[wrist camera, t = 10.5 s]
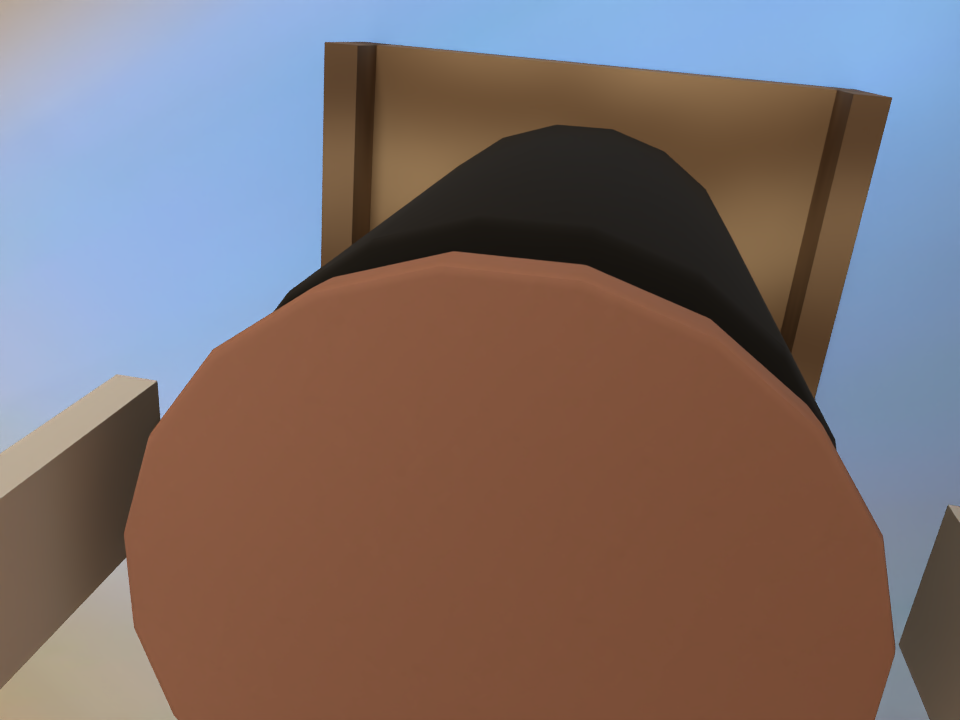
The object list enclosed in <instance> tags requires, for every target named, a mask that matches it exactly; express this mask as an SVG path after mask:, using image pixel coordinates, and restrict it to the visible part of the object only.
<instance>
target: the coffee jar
mask: <svg viewBox="0 0 960 720" xmlns="http://www.w3.org/2000/svg"><path fill="white" fill-rule="evenodd" d="M124 540H125V549H126V558H127V567H128V576H129V585H130V594H131V603H132V612H133V621H134V628H135V630H136V633H137V635H138V637H139V639H140V641H141V644H142V646H143V648H144V650H145V652H146V655H147V657H148V659H149V661H150V663H151V666H152V668H153V670H154V672H155V675H156V677H157V679H158V681H159V683H160V686H161V688H162V690H163V692H164V694H165V697H166V699H167V701H168V703H169V705H170V708H171V710H172V712H173V714H174V716H175V717H176V718H177V719H178V720H875V717H876V714H877V711H878V707H879V704H880V701H881V698H882V694H883V691H884V688H885V685H886V681H887V678H888V675H889V672H890V668H891V665H892V662H893V659H894V655H895V640H894V631H893V622H892V613H891V604H890V595H889V586H888V577H887V568H886V559H885V550H884V541H883V535H882V534H881V532H880V530H879V528H878V526H877V524H876V522H875V521H874V519H873V517H872V515H871V513H870V511H869V510H868V508H867V506H866V504H865V502H864V500H863V499H862V497H861V495H860V493H859V491H858V489H857V488H856V486H855V484H854V482H853V480H852V478H851V477H850V475H849V473H848V471H847V469H846V467H845V466H844V464H843V462H842V460H841V458H840V456H839V455H838V453H837V451H836V443H835V438H834V436H833V434H832V433H831V431H830V429H829V427H828V425H827V423H826V421H825V419H824V417H823V415H822V413H821V411H820V409H819V407H818V405H817V403H816V401H815V399H814V397H813V395H812V393H811V391H810V390H809V388H808V386H807V384H806V382H805V380H804V378H803V376H802V374H801V372H800V370H799V368H798V366H797V364H796V362H795V360H794V358H793V356H792V354H791V352H790V350H789V348H788V347H787V345H786V343H785V341H784V339H783V337H782V335H781V333H780V331H779V329H778V327H777V325H776V323H775V321H774V319H773V317H772V315H771V313H770V311H769V309H768V307H767V305H766V303H765V302H764V300H763V298H762V296H761V294H760V292H759V290H758V288H757V286H756V284H755V282H754V280H753V278H752V276H751V274H750V272H749V270H748V268H747V266H746V264H745V262H744V260H743V259H742V257H741V255H740V253H739V251H738V249H737V247H736V245H735V243H734V241H733V239H732V237H731V235H730V233H729V231H728V230H727V228H726V226H725V224H724V222H723V220H722V218H721V217H720V215H719V213H718V211H717V209H716V207H715V206H714V204H713V202H712V200H711V198H710V196H709V194H708V193H707V191H706V189H705V188H704V187H703V186H702V185H701V184H700V183H698V182H697V181H696V180H695V179H694V178H693V177H692V176H691V175H690V174H689V173H687V172H686V171H685V170H684V169H683V168H682V167H681V166H680V165H679V164H678V163H677V162H675V161H674V160H673V159H672V158H671V157H670V156H669V155H668V154H667V153H666V152H664V151H662V150H660V149H658V148H655V147H653V146H651V145H648V144H646V143H644V142H641V141H639V140H637V139H634V138H632V137H630V136H627V135H625V134H623V133H620V132H618V131H616V130H614V129H605V128H593V127H581V126H569V125H552V126H548V127H544V128H540V129H536V130H532V131H528V132H524V133H520V134H516V135H512V136H508V137H504V138H502V139H500V140H498V141H497V142H495V143H494V144H492V145H491V146H489V147H487V148H486V149H484V150H483V151H481V152H480V153H478V154H476V155H475V156H473V157H472V158H470V159H469V160H467V161H465V162H464V163H462V164H461V165H459V166H458V167H456V168H455V169H454V170H452V171H451V172H449V173H448V174H447V175H445V176H444V177H443V178H441V179H440V180H439V181H437V182H436V183H435V184H433V185H432V186H431V187H429V188H428V189H427V190H425V191H424V192H423V193H421V194H420V195H418V196H417V197H416V198H414V199H413V200H412V201H410V202H409V203H408V204H406V205H405V206H404V207H402V208H401V209H400V210H398V211H397V212H396V213H394V214H393V215H391V216H390V217H389V218H387V219H386V220H385V221H383V222H382V223H381V224H379V225H378V226H377V227H375V228H374V229H373V230H371V231H370V232H369V233H367V234H366V235H365V236H363V237H362V238H360V239H359V240H358V241H356V242H355V243H354V244H352V245H351V246H350V247H348V248H347V249H346V250H344V251H343V252H342V253H340V254H339V255H338V256H336V257H335V258H334V259H332V260H331V261H329V262H328V263H327V264H325V265H324V266H323V267H321V268H320V269H319V270H317V271H316V272H315V273H313V274H312V275H311V276H309V277H308V278H307V279H305V280H304V281H303V282H301V283H300V284H298V285H297V286H296V287H294V288H293V289H292V290H290V291H289V292H288V294H287V295H286V296H285V297H284V299H283V300H282V301H281V303H280V304H279V305H278V307H277V308H276V309H275V311H274V312H273V313H271V314H269V315H268V316H266V317H265V318H263V319H261V320H260V321H258V322H256V323H255V324H253V325H252V326H250V327H248V328H247V329H245V330H244V331H242V332H240V333H239V334H237V335H236V336H234V337H232V338H231V339H229V340H227V341H226V342H224V343H223V344H221V345H219V346H218V347H216V348H215V349H213V350H212V351H211V353H210V354H209V355H208V357H207V358H206V359H205V361H204V362H203V363H202V365H201V366H200V367H199V369H198V370H197V372H196V373H195V374H194V376H193V377H192V378H191V380H190V381H189V382H188V384H187V385H186V386H185V388H184V389H183V390H182V392H181V393H180V394H179V396H178V397H177V398H176V400H175V401H174V402H173V404H172V405H171V406H170V408H169V409H168V411H167V412H166V413H165V415H164V416H163V417H162V419H161V420H160V421H159V423H158V424H157V425H156V427H155V428H154V429H153V431H152V432H151V433H150V436H149V438H148V442H147V445H146V449H145V453H144V457H143V461H142V465H141V469H140V473H139V476H138V480H137V484H136V488H135V492H134V496H133V500H132V503H131V507H130V511H129V515H128V519H127V523H126V527H125V531H124Z"/></svg>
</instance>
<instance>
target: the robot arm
mask: <svg viewBox="0 0 960 720" xmlns="http://www.w3.org/2000/svg"><path fill="white" fill-rule="evenodd" d="M159 421H160V410H159V396H158V383H157V381H155V380H149V379H142V378H136V377H129V376H123V375H115V376H114V377H112V378H111V379H109V380H108V381H106V382H105V383H104V384H102V385H101V386H99V387H98V388H96V389H95V390H93V391H92V392H90V393H89V394H87V395H86V396H84V397H83V398H81V399H80V400H79V401H77V402H76V403H74V404H73V405H71V406H70V407H68V408H67V409H65V410H64V411H62V412H61V413H59V414H58V415H56V416H55V417H54V418H52V419H51V420H49V421H48V422H46V423H45V424H43V425H42V426H40V427H39V428H37V429H36V430H34V431H33V432H31V433H30V434H28V435H27V436H26V437H24V438H23V439H21V440H20V441H18V442H17V443H15V444H14V445H12V446H11V447H9V448H8V449H6V450H5V451H3V452H2V453H1V454H0V689H1V688H2V687H3V686H4V685H5V684H6V683H7V682H8V681H9V680H10V679H11V678H12V677H13V675H14V674H15V673H16V672H17V671H18V670H19V669H20V668H21V667H22V666H23V665H24V664H25V663H26V662H27V661H28V660H29V659H30V658H31V657H32V656H33V655H34V653H35V652H36V651H37V650H38V649H39V648H40V647H41V646H42V645H43V644H44V643H45V642H46V641H47V640H48V639H49V638H50V637H51V636H52V635H53V634H54V632H55V631H56V630H57V629H58V628H59V627H60V626H61V625H62V624H63V623H64V622H65V621H66V620H67V619H68V618H69V617H70V616H71V615H72V614H73V613H74V612H75V610H76V609H77V608H78V607H79V606H80V605H81V604H82V603H83V602H84V601H85V600H86V599H87V598H88V597H89V596H90V595H91V594H92V593H93V592H94V591H95V589H96V588H97V587H98V586H99V585H100V584H101V583H102V582H103V581H104V580H105V579H106V578H107V577H108V576H109V575H110V574H111V573H112V572H113V571H114V570H115V569H116V567H117V566H118V565H119V564H120V563H121V562H122V561H123V560H124V559H125V558H126V549H125V540H124V531H125V527H126V523H127V519H128V515H129V511H130V507H131V503H132V500H133V496H134V492H135V488H136V484H137V480H138V476H139V473H140V469H141V465H142V461H143V457H144V453H145V449H146V445H147V442H148V438H149V436H150V433H151V432H152V431H153V429H154V428H155V427H156V425H157V424H158V423H159ZM899 647H900V649H901V651H902V654H903V656H904V659H905V661H906V663H907V666H908V668H909V671H910V673H911V675H912V678H913V680H914V683H915V685H916V687H917V690H918V692H919V695H920V697H921V699H922V702H923V704H924V707H925V709H926V711H927V714H928V716H929V719H930V720H960V506H954V505H948V506H947V509H946V512H945V515H944V518H943V520H942V523H941V526H940V529H939V532H938V535H937V537H936V540H935V543H934V546H933V549H932V552H931V554H930V557H929V560H928V563H927V566H926V569H925V571H924V574H923V577H922V580H921V583H920V586H919V588H918V591H917V594H916V597H915V600H914V603H913V605H912V608H911V611H910V614H909V617H908V620H907V622H906V625H905V628H904V631H903V634H902V637H901V639H900V642H899Z"/></svg>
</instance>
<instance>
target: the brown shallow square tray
mask: <svg viewBox="0 0 960 720" xmlns="http://www.w3.org/2000/svg"><path fill="white" fill-rule="evenodd" d="M891 100H892V98H891V97H886V96H882V95H877V94H873V93H869V92H864V91H860V90H854V89H844V88H834V87H824V86H813V85H803V84H793V83H782V82H772V81H762V80H752V79H741V78H731V77H721V76H710V75H700V74H690V73H679V72H669V71H659V70H649V69H638V68H628V67H618V66H607V65H597V64H587V63H577V62H566V61H556V60H546V59H535V58H525V57H515V56H504V55H494V54H484V53H474V52H463V51H453V50H443V49H432V48H422V47H412V46H402V45H391V44H381V43H371V42H325V58H324V120H323V182H322V244H321V267H323V266H324V265H325V264H327V263H328V262H329V261H331V260H332V259H334V258H335V257H336V256H338V255H339V254H340V253H342V252H343V251H344V250H346V249H347V248H348V247H350V246H351V245H352V244H354V243H355V242H356V241H358V240H359V239H360V238H362V237H363V236H365V235H366V234H367V233H369V232H370V231H371V230H373V229H374V228H375V227H377V226H378V225H379V224H381V223H382V222H383V221H385V220H386V219H387V218H389V217H390V216H391V215H393V214H394V213H396V212H397V211H398V210H400V209H401V208H402V207H404V206H405V205H406V204H408V203H409V202H410V201H412V200H413V199H414V198H416V197H417V196H418V195H420V194H421V193H423V192H424V191H425V190H427V189H428V188H429V187H431V186H432V185H433V184H435V183H436V182H437V181H439V180H440V179H441V178H443V177H444V176H445V175H447V174H448V173H449V172H451V171H452V170H454V169H455V168H456V167H458V166H459V165H461V164H462V163H464V162H465V161H467V160H469V159H470V158H472V157H473V156H475V155H476V154H478V153H480V152H481V151H483V150H484V149H486V148H487V147H489V146H491V145H492V144H494V143H495V142H497V141H498V140H500V139H502V138H504V137H508V136H512V135H516V134H520V133H524V132H528V131H532V130H536V129H540V128H544V127H548V126H552V125H569V126H581V127H593V128H605V129H614V130H616V131H618V132H620V133H623V134H625V135H627V136H630V137H632V138H634V139H637V140H639V141H641V142H644V143H646V144H648V145H651V146H653V147H655V148H658V149H660V150H662V151H664V152H666V153H667V154H668V155H669V156H670V157H671V158H672V159H673V160H674V161H675V162H677V163H678V164H679V165H680V166H681V167H682V168H683V169H684V170H685V171H686V172H687V173H689V174H690V175H691V176H692V177H693V178H694V179H695V180H696V181H697V182H698V183H700V184H701V185H702V186H703V187H704V188H705V189H706V191H707V193H708V194H709V196H710V198H711V200H712V202H713V204H714V206H715V207H716V209H717V211H718V213H719V215H720V217H721V218H722V220H723V222H724V224H725V226H726V228H727V230H728V231H729V233H730V235H731V237H732V239H733V241H734V243H735V245H736V247H737V249H738V251H739V253H740V255H741V257H742V259H743V260H744V262H745V264H746V266H747V268H748V270H749V272H750V274H751V276H752V278H753V280H754V282H755V284H756V286H757V288H758V290H759V292H760V294H761V296H762V298H763V300H764V302H765V303H766V305H767V307H768V309H769V311H770V313H771V315H772V317H773V319H774V321H775V323H776V325H777V327H778V329H779V331H780V333H781V335H782V337H783V339H784V341H785V343H786V345H787V347H788V348H789V350H790V352H791V354H792V356H793V358H794V360H795V362H796V364H797V366H798V368H799V370H800V372H801V374H802V376H803V378H804V380H805V382H806V384H807V386H808V388H809V390H810V391H811V393H812V395H813V397H814V399H815V395H816V391H817V387H818V383H819V380H820V376H821V372H822V368H823V364H824V360H825V356H826V352H827V349H828V345H829V341H830V337H831V333H832V329H833V325H834V321H835V318H836V314H837V310H838V306H839V302H840V298H841V294H842V290H843V287H844V283H845V279H846V275H847V271H848V267H849V263H850V259H851V256H852V252H853V248H854V244H855V240H856V236H857V232H858V228H859V225H860V221H861V217H862V213H863V209H864V205H865V201H866V197H867V194H868V190H869V186H870V182H871V178H872V174H873V170H874V166H875V163H876V159H877V155H878V151H879V147H880V143H881V139H882V135H883V131H884V128H885V124H886V120H887V116H888V112H889V108H890V104H891Z"/></svg>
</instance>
